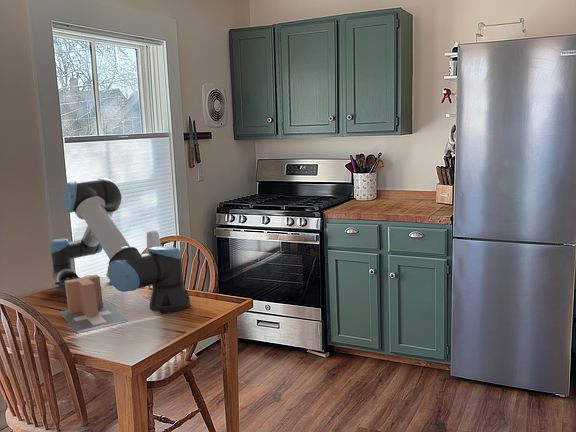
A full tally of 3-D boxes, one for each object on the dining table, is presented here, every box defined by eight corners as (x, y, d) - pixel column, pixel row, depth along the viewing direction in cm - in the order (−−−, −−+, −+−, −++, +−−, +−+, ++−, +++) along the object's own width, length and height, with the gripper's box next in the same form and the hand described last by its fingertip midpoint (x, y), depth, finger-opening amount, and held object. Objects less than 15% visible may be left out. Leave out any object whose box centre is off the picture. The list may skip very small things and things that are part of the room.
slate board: (59, 314, 220) (58, 311, 219) (106, 304, 229) (106, 301, 229) (75, 334, 196) (74, 331, 196) (127, 321, 205) (127, 319, 205)
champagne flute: (166, 286, 248) (160, 232, 244) (150, 289, 246) (144, 233, 243) (165, 283, 255) (159, 229, 251) (149, 285, 253) (143, 231, 249)
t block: (68, 311, 219) (64, 280, 217) (100, 304, 225) (96, 274, 223) (76, 320, 208) (71, 287, 206) (109, 312, 214) (105, 281, 212)
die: (124, 278, 270) (109, 263, 268) (133, 271, 265) (118, 256, 263) (114, 289, 264) (98, 274, 262) (123, 282, 258) (108, 266, 257)
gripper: (84, 284, 248) (98, 296, 229) (52, 290, 242) (64, 303, 222) (82, 267, 247) (96, 278, 227) (50, 273, 241) (61, 284, 221)
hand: (80, 290), depth 225 cm, fingers closed
